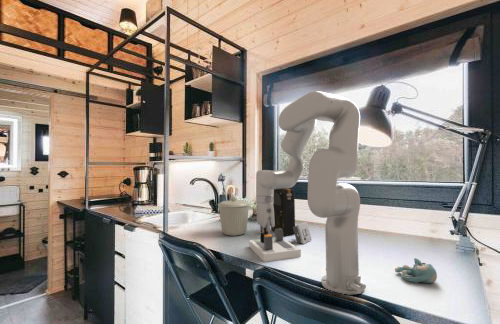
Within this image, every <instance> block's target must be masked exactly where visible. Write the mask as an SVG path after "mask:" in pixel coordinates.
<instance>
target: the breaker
mask: <svg viewBox="0 0 500 324" xmlns="http://www.w3.org/2000/svg"><path fill="white" fill-rule="evenodd" d="M274 235H275V236H274V238H275V240H276V241H282V240H283V239H284V236H283V229H281V228H279V229H275V232H274Z"/></svg>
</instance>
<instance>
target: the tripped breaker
mask: <svg viewBox="0 0 500 324" xmlns="http://www.w3.org/2000/svg"><path fill="white" fill-rule="evenodd" d="M272 238H273V234H271V233H269V234H267V235H264V249H266V250H267V249H273V242H272Z"/></svg>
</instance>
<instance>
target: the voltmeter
mask: <svg viewBox="0 0 500 324" xmlns="http://www.w3.org/2000/svg"><path fill="white" fill-rule="evenodd" d="M295 195H296V194H295V189H292V188H284V189H274V203H273V207H274V221H275V226H274V227H271V226H270V230H271V232H274V233H275V229H279V228H281V229H283V237H287V236H292V235H293V236H294V235H295V234H294V230H293V227H295V226H296V212H295V211H296V208H295V207H296V204H295V203H296V202H295V201H296V199H295Z"/></svg>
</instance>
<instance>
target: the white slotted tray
mask: <svg viewBox="0 0 500 324" xmlns="http://www.w3.org/2000/svg"><path fill="white" fill-rule="evenodd" d="M272 242H273V249H267V250H266V249H264V243H262V242H261V241H260V238H259V239H252V240H251V239H249V243H248V245H249V249H251V250H252V251H253V252H254V253H255V254H256V255H257V257H259V259H260V260H262V261H263V263H265V262H271V261H272V262H274V261H280V260H287V259H296V258H301V257H302V251H301V250H302V249H301V248H299V247H297V245H294V244H292V243H291V242H290V241H288V240H286V239H285V238H283V240H282V241H276V240H275V237H272Z"/></svg>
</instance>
